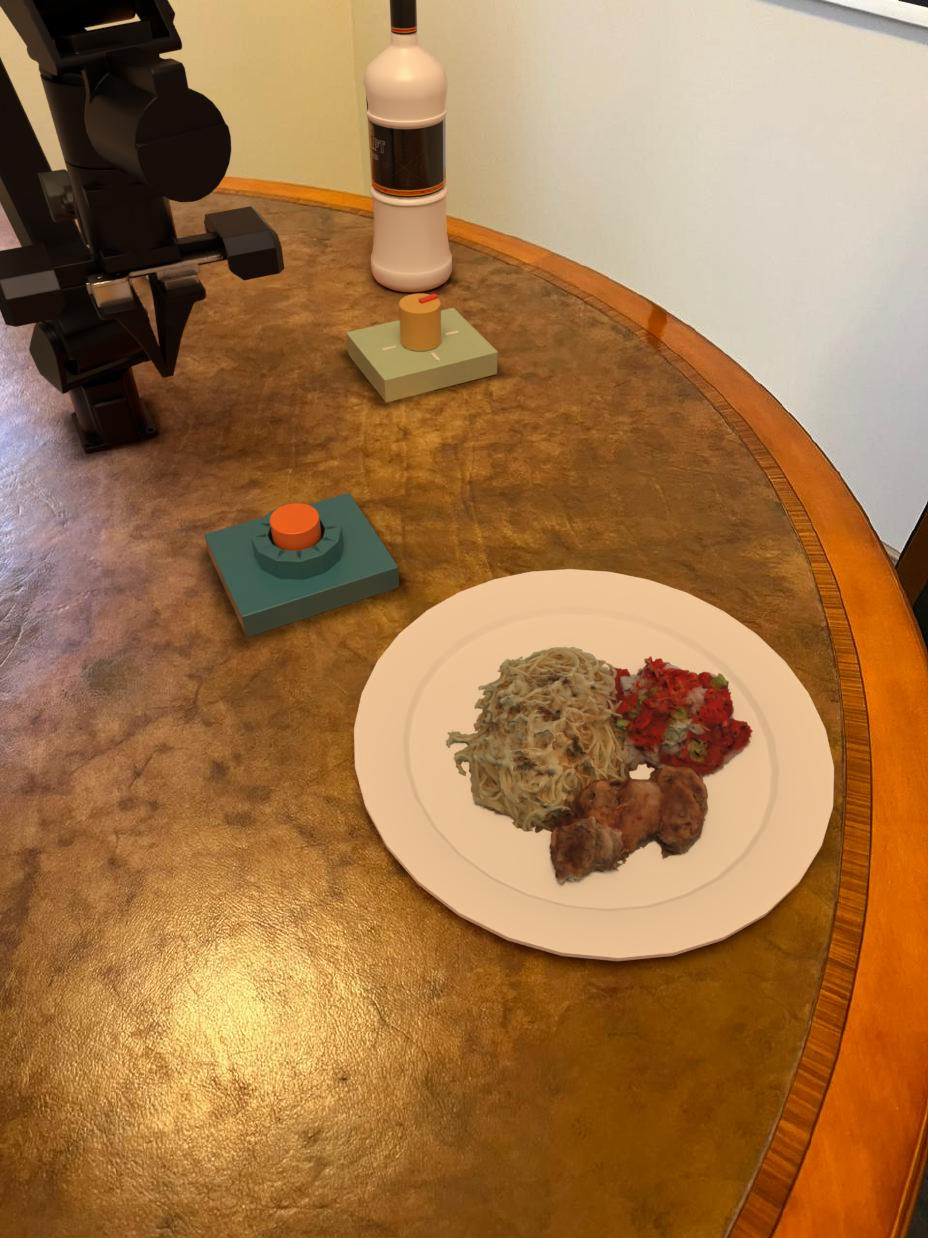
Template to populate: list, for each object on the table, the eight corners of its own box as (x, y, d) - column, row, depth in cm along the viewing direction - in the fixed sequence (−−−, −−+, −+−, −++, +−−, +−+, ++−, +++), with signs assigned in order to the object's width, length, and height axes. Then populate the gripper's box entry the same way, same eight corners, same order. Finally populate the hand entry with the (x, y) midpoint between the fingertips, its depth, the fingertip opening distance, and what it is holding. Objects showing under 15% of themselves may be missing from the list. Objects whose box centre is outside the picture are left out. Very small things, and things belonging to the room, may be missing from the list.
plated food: (260, 746, 60) (252, 713, 58) (561, 534, 75) (565, 501, 73) (629, 1098, 45) (638, 1074, 43) (912, 747, 60) (931, 714, 58)
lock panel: (347, 354, 95) (345, 330, 93) (453, 329, 99) (453, 305, 97) (385, 403, 88) (384, 378, 87) (497, 374, 92) (498, 349, 90)
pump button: (266, 528, 70) (263, 510, 69) (311, 515, 71) (309, 497, 70) (281, 557, 68) (278, 539, 66) (328, 543, 69) (326, 525, 68)
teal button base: (209, 555, 73) (199, 515, 70) (351, 513, 77) (347, 473, 74) (246, 638, 67) (237, 598, 64) (399, 588, 71) (397, 548, 68)
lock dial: (415, 355, 90) (414, 314, 87) (392, 338, 92) (390, 297, 89) (449, 343, 91) (448, 302, 88) (425, 327, 94) (425, 286, 91)
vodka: (435, 301, 103) (429, -23, 81) (358, 287, 105) (334, -32, 84) (463, 266, 109) (465, -44, 88) (391, 253, 111) (375, -51, 90)
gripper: (221, 95, 66) (255, 302, 77) (-61, 134, 60) (20, 352, 71) (270, 146, 59) (299, 365, 70) (-43, 195, 53) (43, 426, 64)
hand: (166, 374), depth 69 cm, fingers closed
